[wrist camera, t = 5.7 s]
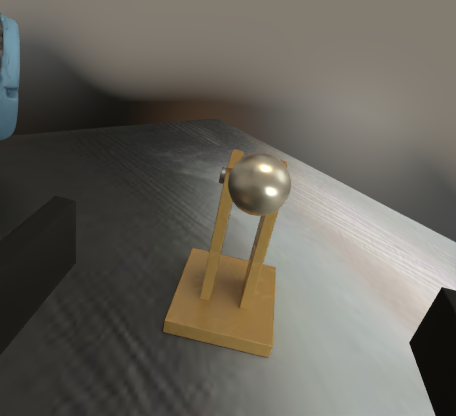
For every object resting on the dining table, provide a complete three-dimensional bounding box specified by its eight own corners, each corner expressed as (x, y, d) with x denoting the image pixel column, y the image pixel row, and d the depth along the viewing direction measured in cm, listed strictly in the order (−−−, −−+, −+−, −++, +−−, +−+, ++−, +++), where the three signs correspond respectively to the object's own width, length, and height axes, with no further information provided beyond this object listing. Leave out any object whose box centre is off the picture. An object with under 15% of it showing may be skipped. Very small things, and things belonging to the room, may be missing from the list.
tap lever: (285, 225, 21) (301, 158, 21) (219, 210, 21) (235, 143, 21) (268, 206, 36) (277, 167, 36) (230, 197, 36) (238, 158, 36)
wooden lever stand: (268, 358, 36) (321, 209, 28) (162, 332, 36) (186, 178, 28) (272, 277, 46) (311, 153, 39) (190, 257, 47) (213, 131, 39)
